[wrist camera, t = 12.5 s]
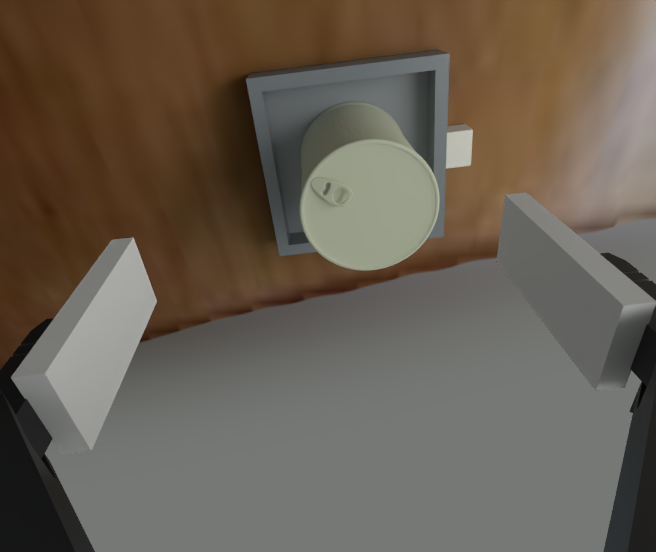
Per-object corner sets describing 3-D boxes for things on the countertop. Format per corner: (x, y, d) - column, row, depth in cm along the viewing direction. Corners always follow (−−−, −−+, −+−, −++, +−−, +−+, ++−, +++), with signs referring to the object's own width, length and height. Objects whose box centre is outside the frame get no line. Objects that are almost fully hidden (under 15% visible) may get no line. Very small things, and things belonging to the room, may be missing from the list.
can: (331, 80, 35) (342, 111, 25) (426, 134, 38) (472, 183, 28) (281, 180, 39) (274, 242, 29) (371, 223, 42) (392, 294, 32)
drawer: (280, 241, 43) (279, 256, 41) (249, 73, 35) (245, 78, 33) (460, 219, 43) (470, 233, 40) (469, 45, 35) (482, 49, 32)
